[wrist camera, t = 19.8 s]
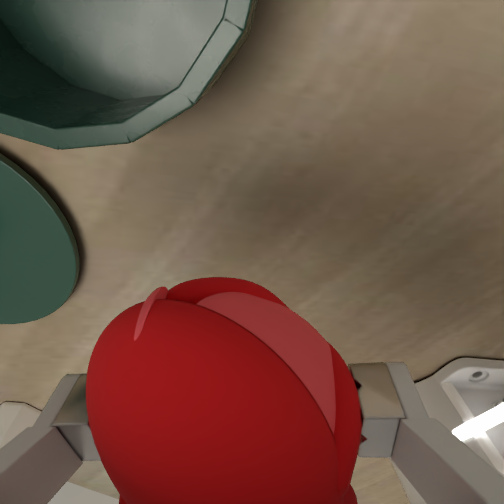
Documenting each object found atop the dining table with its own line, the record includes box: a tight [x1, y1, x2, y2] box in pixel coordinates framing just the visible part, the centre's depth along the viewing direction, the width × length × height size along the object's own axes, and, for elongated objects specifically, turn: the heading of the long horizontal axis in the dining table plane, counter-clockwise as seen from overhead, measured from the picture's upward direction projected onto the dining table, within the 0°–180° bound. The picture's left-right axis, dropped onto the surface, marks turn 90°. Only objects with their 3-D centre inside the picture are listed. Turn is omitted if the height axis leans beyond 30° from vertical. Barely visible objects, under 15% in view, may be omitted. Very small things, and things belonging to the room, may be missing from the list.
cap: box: [86, 277, 362, 504], centre depth 9 cm, size 8×6×6 cm
